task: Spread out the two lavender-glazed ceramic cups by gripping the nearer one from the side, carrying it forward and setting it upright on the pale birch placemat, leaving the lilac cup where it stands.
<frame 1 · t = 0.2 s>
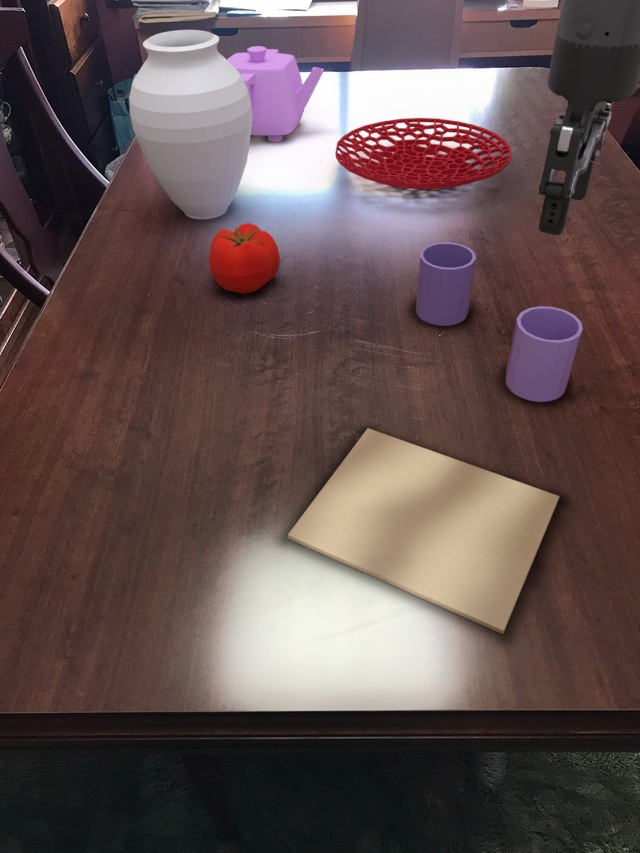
hand: (562, 214, 68), 18 cm above the table, tool pointing down, fingers open, 8 cm apart
mat: (425, 519, 63), on the table
lavender cup: (535, 383, 77), on the table
tomato: (247, 284, 95), on the table
vase: (206, 210, 112), on the table
bowl: (420, 178, 119), on the table
lilac cup: (441, 311, 88), on the table
teapot: (263, 132, 138), on the table
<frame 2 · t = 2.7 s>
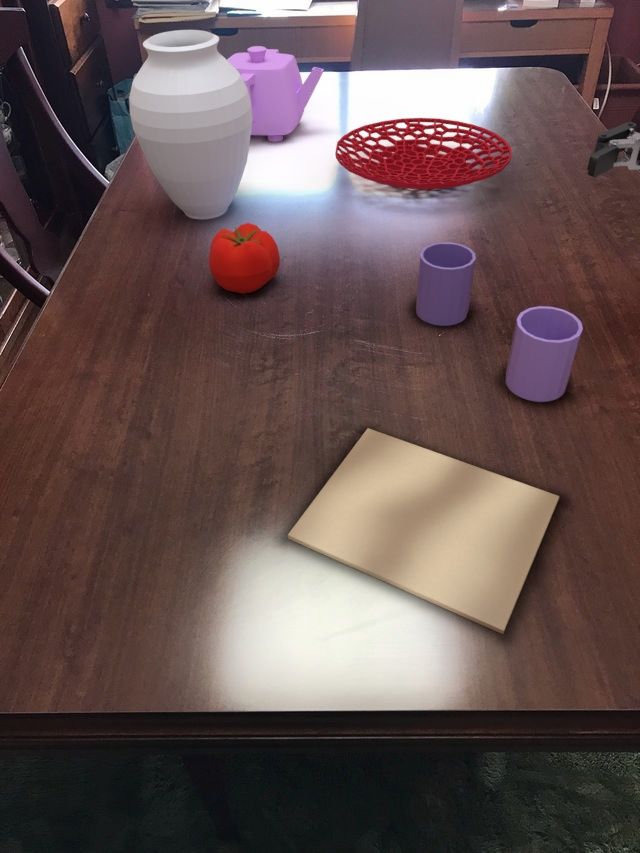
hand: (630, 179, 68), 20 cm above the table, tool horizontal, fingers open, 8 cm apart
nothing on the table moved.
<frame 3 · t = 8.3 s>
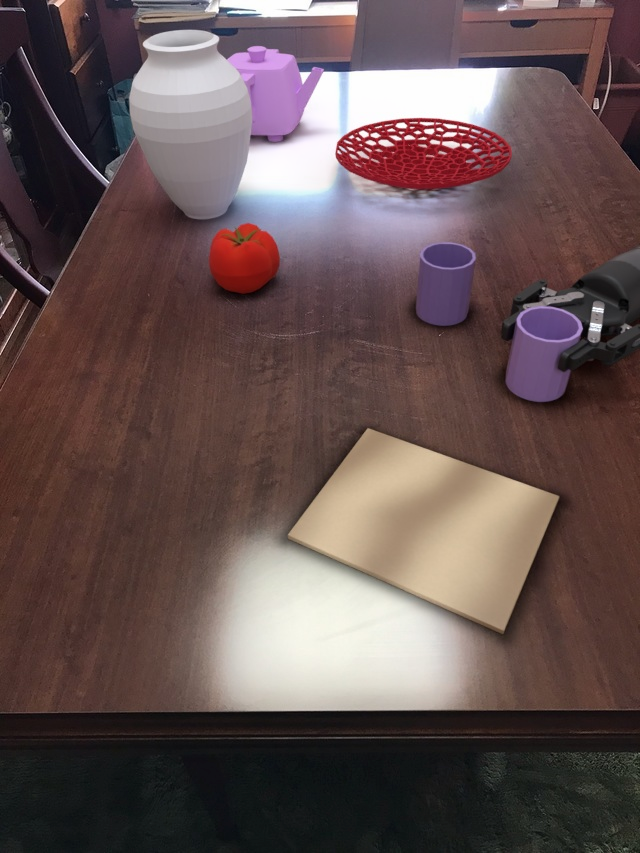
hand: (532, 347, 72), 6 cm above the table, tool horizontal, fingers closed on lavender cup, 6 cm apart
lavender cup: (535, 383, 77), on the table, touching gripper
everything else where it was.
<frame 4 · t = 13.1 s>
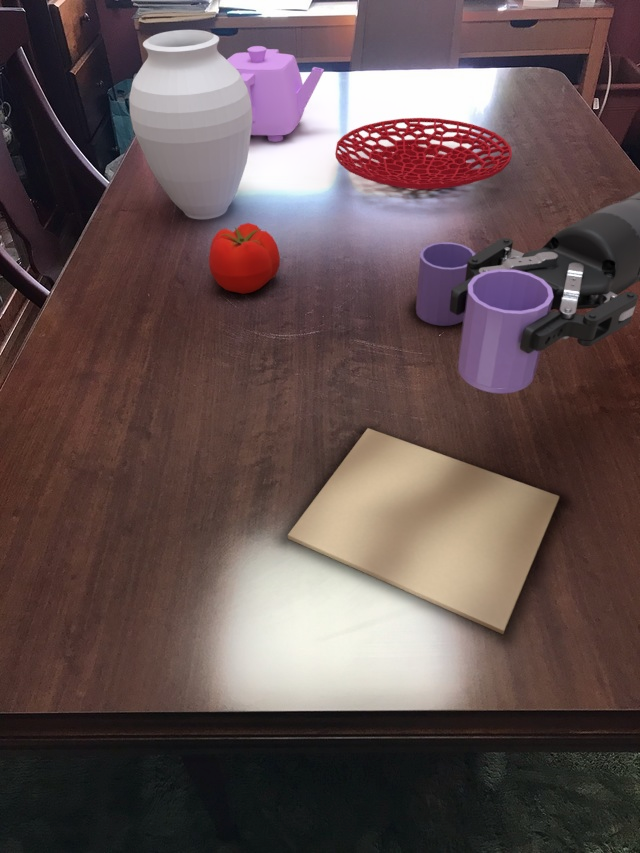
hand: (488, 322, 55), 18 cm above the table, tool horizontal, fingers closed on lavender cup, 6 cm apart
lavender cup: (495, 369, 60), point 12 cm above the table, touching gripper
everything else where it was.
when the fingers open (7 cm above the table, at t = 18.1 s): lavender cup stays where it is, resting on mat.
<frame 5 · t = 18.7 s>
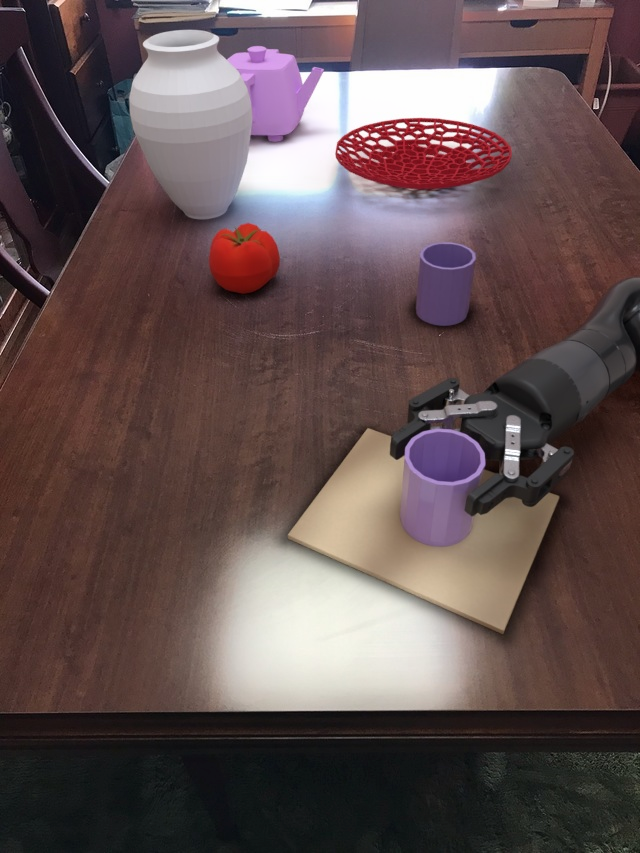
hand: (429, 477, 57), 7 cm above the table, tool horizontal, fingers open, 8 cm apart
lavender cup: (436, 517, 63), point 1 cm above the table, touching mat
everything else where it was.
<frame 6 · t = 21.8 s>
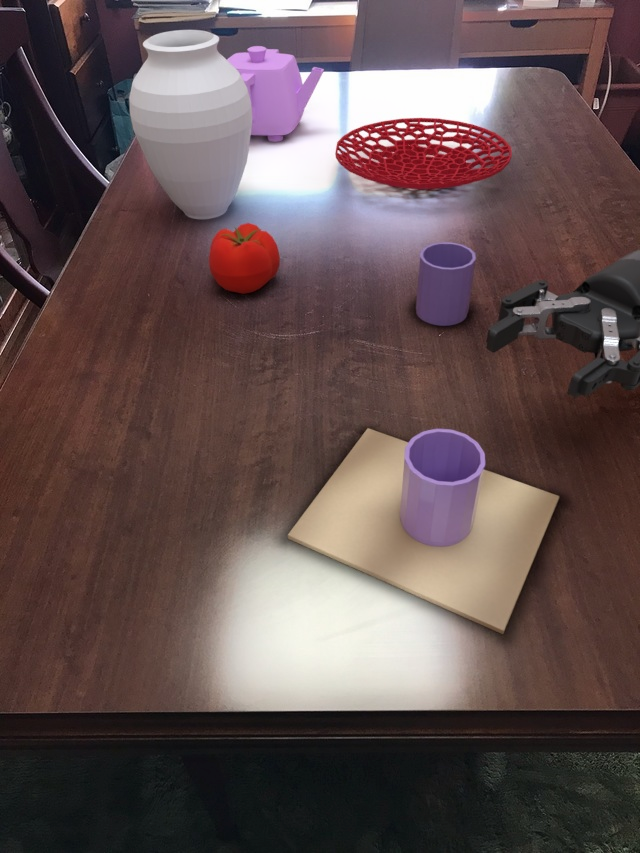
hand: (530, 364, 59), 13 cm above the table, tool horizontal, fingers open, 8 cm apart
nothing on the table moved.
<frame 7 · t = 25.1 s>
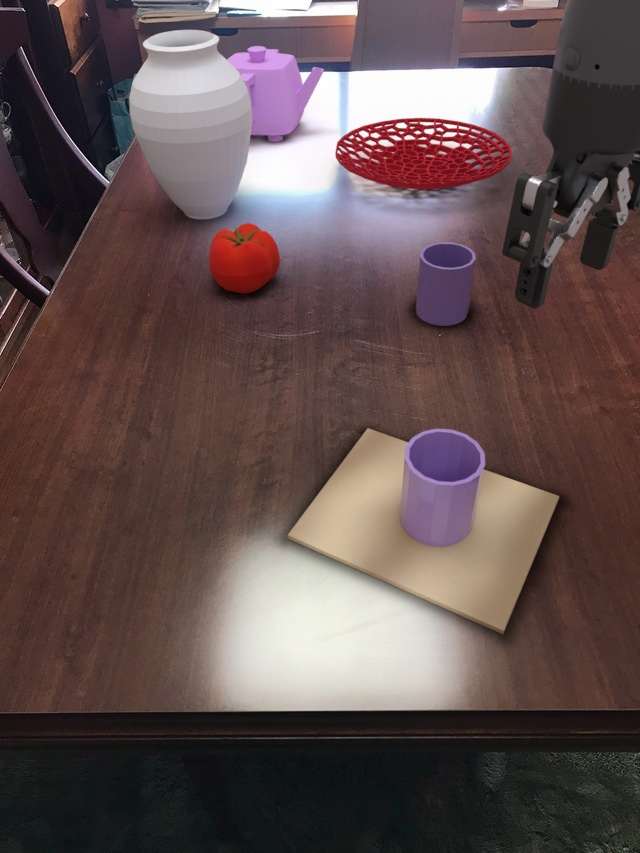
hand: (561, 283, 55), 20 cm above the table, tool pointing down, fingers open, 8 cm apart
nothing on the table moved.
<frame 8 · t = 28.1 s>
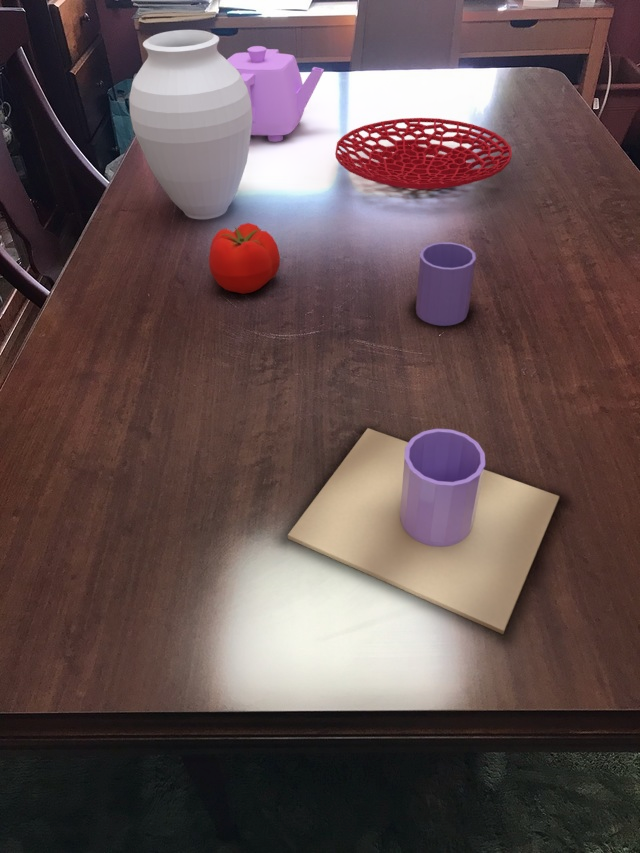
nothing on the table moved.
at the end: lavender cup inside the target area on the mat (0.4 cm from its centre), point 0.6 cm above the mat's base; lavender cup tilted 0°; lilac cup moved 0.0 cm from its start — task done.
